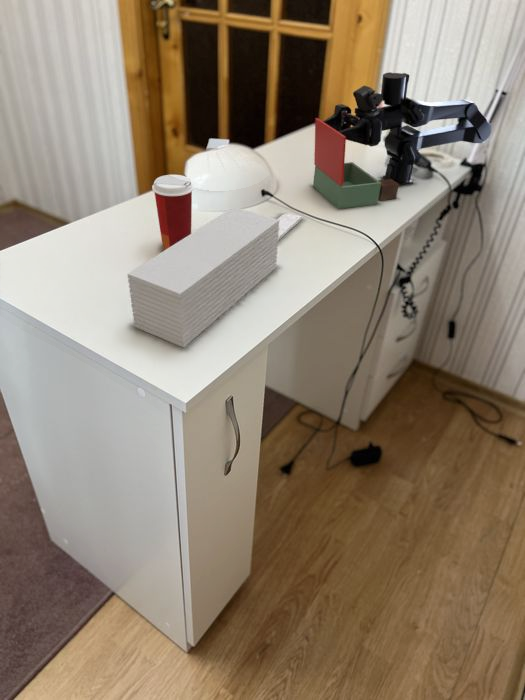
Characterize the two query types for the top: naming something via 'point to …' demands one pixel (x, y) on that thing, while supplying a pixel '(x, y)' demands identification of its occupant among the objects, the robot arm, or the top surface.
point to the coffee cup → (173, 207)
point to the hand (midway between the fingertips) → (327, 130)
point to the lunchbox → (348, 187)
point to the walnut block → (388, 189)
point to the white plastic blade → (287, 223)
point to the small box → (216, 143)
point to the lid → (329, 151)
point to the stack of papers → (203, 275)
